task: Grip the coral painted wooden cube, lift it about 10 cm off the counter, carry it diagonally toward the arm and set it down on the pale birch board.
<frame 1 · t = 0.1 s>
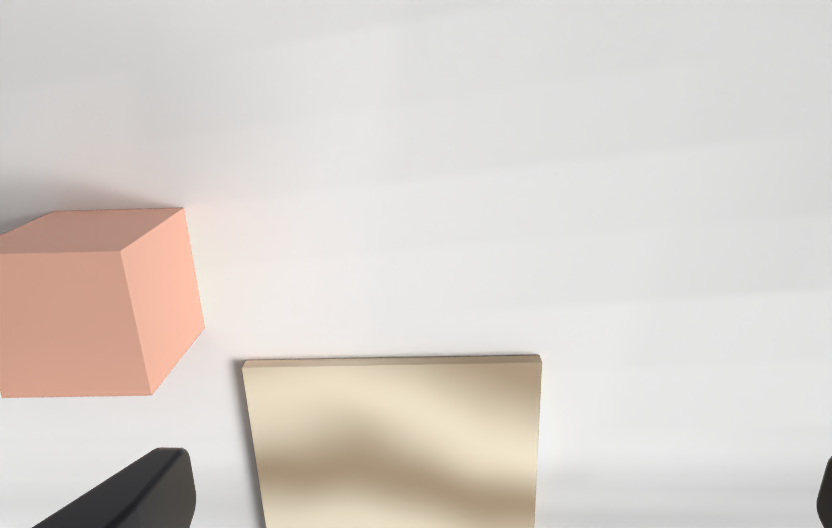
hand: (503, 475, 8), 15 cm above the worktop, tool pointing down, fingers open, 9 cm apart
birch board: (397, 476, 26), on the worktop
coral cube: (132, 270, 23), on the worktop
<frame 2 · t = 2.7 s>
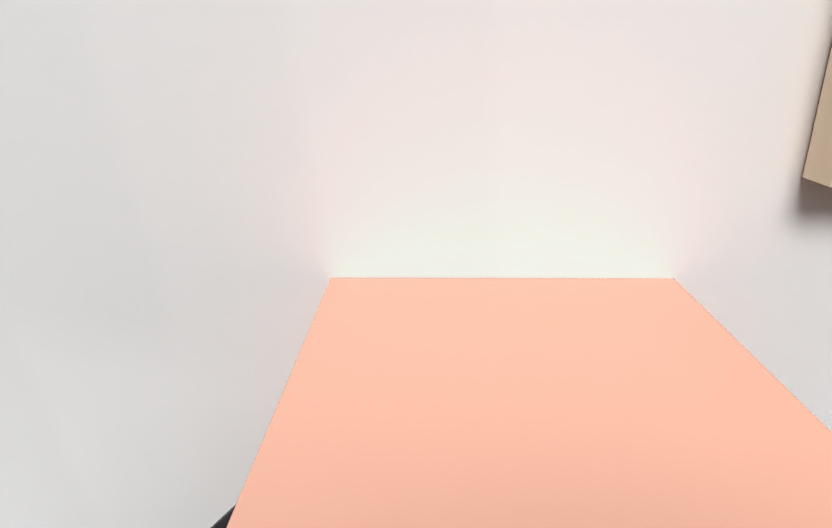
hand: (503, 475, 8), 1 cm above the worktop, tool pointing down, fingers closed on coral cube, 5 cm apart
coral cube: (494, 422, 10), on the worktop, touching gripper
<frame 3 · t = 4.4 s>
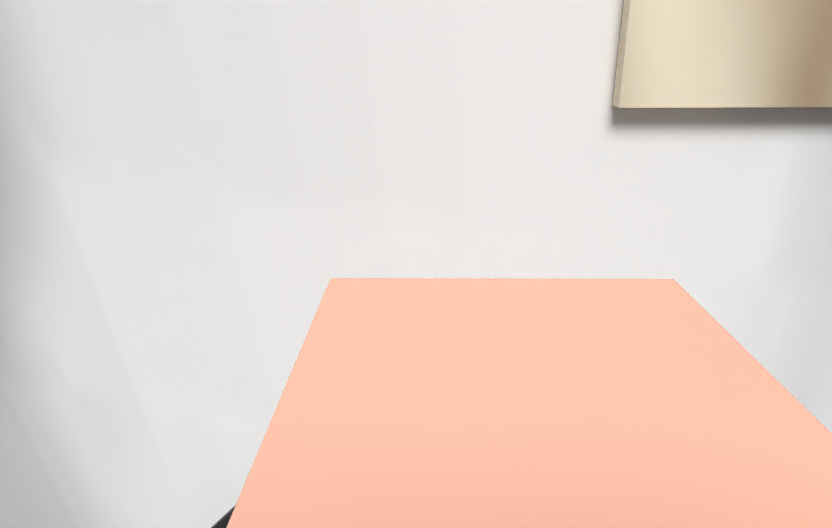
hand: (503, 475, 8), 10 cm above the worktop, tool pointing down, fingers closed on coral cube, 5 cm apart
coral cube: (494, 422, 10), point 9 cm above the worktop, touching gripper
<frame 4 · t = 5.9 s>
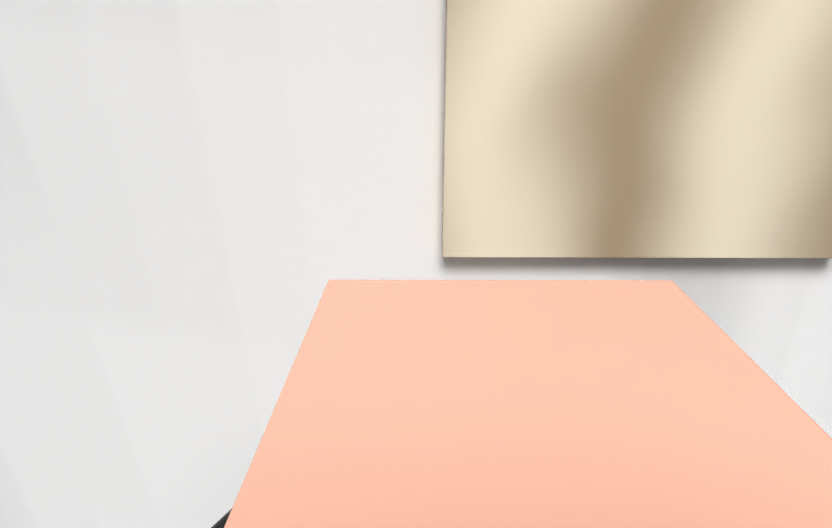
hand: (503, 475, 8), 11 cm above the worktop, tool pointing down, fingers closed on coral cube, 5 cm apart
birch board: (664, 43, 16), on the worktop
coral cube: (492, 424, 10), point 9 cm above the worktop, touching gripper
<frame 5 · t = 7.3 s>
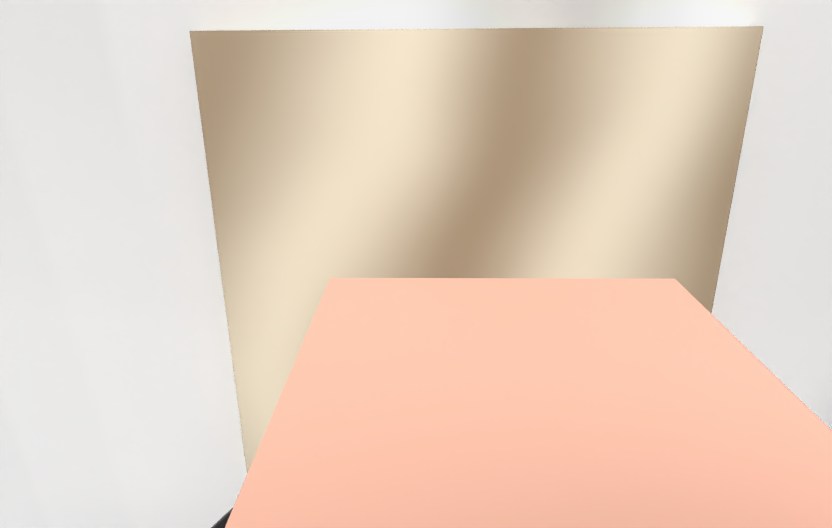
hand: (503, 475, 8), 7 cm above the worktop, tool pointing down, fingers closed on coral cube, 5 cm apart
birch board: (465, 283, 15), on the worktop
coral cube: (494, 423, 10), point 6 cm above the worktop, touching gripper
when the fingers open (3 cm above the worktop, at t = 8.8 s): coral cube drops 1 cm, resting on birch board.
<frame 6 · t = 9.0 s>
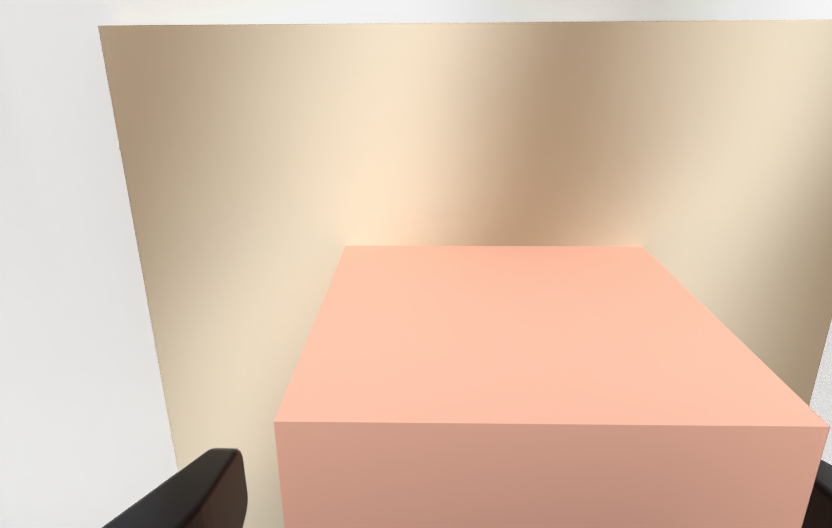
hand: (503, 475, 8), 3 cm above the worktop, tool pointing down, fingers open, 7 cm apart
birch board: (481, 358, 12), on the worktop
coral cube: (487, 375, 11), point 1 cm above the worktop, touching birch board
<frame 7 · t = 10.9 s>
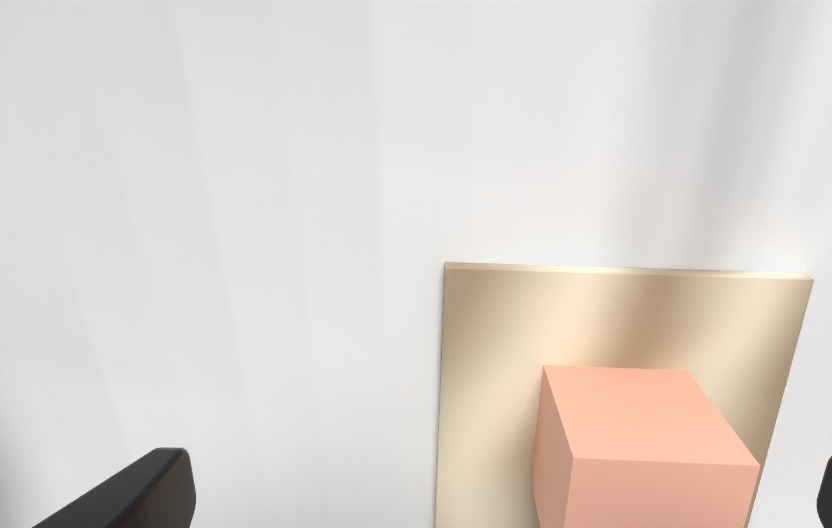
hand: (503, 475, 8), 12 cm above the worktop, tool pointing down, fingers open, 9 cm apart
birch board: (600, 418, 22), on the worktop
coral cube: (606, 428, 22), point 1 cm above the worktop, touching birch board
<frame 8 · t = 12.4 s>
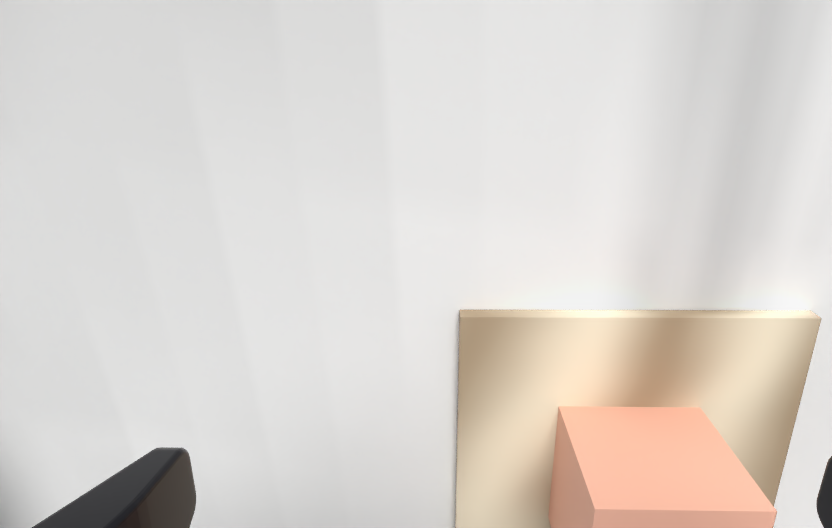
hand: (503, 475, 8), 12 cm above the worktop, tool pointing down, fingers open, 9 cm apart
birch board: (614, 453, 23), on the worktop
coral cube: (621, 464, 22), point 1 cm above the worktop, touching birch board
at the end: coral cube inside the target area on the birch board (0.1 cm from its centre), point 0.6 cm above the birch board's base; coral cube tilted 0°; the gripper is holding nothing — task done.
